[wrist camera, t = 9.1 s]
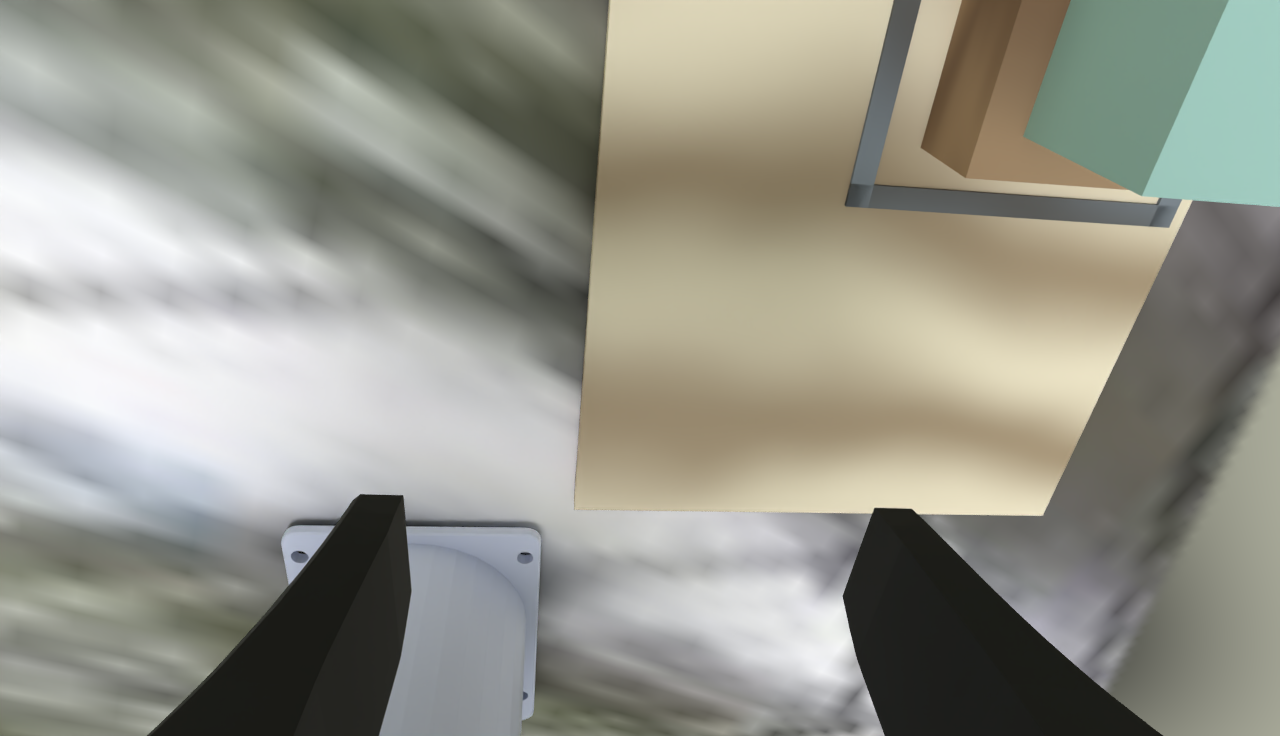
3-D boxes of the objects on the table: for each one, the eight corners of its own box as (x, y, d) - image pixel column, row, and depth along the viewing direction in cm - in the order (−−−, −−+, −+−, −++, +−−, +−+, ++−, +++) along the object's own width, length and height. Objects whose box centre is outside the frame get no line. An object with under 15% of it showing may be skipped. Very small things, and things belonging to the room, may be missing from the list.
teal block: (1188, 150, 17) (1342, 211, 14) (1022, 136, 17) (1141, 196, 13) (1281, -51, 15) (1488, -38, 12) (1096, -74, 15) (1258, -67, 11)
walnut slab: (1138, 164, 20) (1207, 195, 18) (920, 147, 19) (965, 178, 17) (1253, -105, 17) (1352, -105, 15) (1000, -137, 16) (1067, -143, 14)
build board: (1034, 505, 27) (1044, 517, 26) (574, 499, 25) (574, 511, 24) (1363, -202, 17) (1389, -205, 16) (630, -312, 15) (633, -319, 14)
